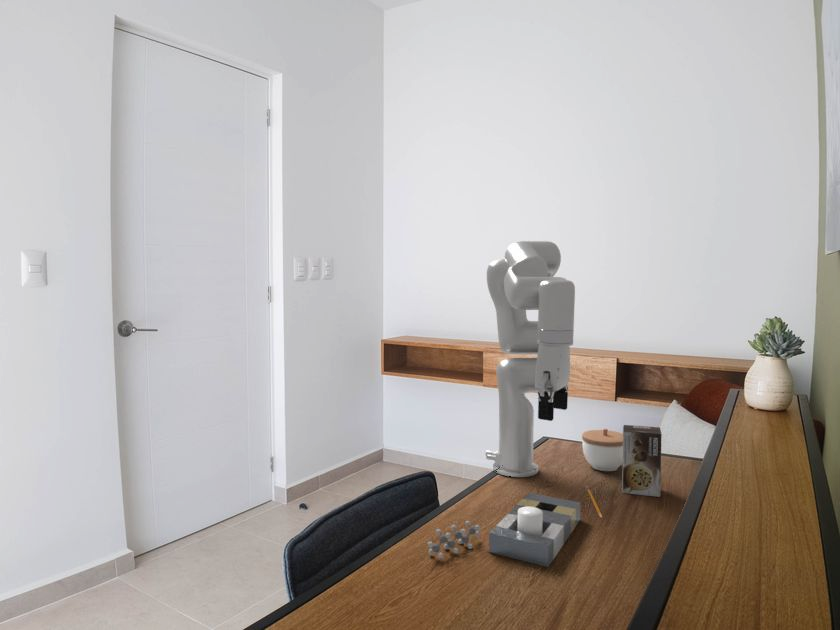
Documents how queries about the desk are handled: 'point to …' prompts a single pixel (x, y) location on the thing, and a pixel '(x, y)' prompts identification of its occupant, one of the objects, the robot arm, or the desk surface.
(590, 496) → the pencil
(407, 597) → the desk surface
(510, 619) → the desk surface
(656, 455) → the coffee box
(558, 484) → the desk surface
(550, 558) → the socket block
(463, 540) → the molecular model
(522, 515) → the white capsule cylinder
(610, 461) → the lidded bowl
